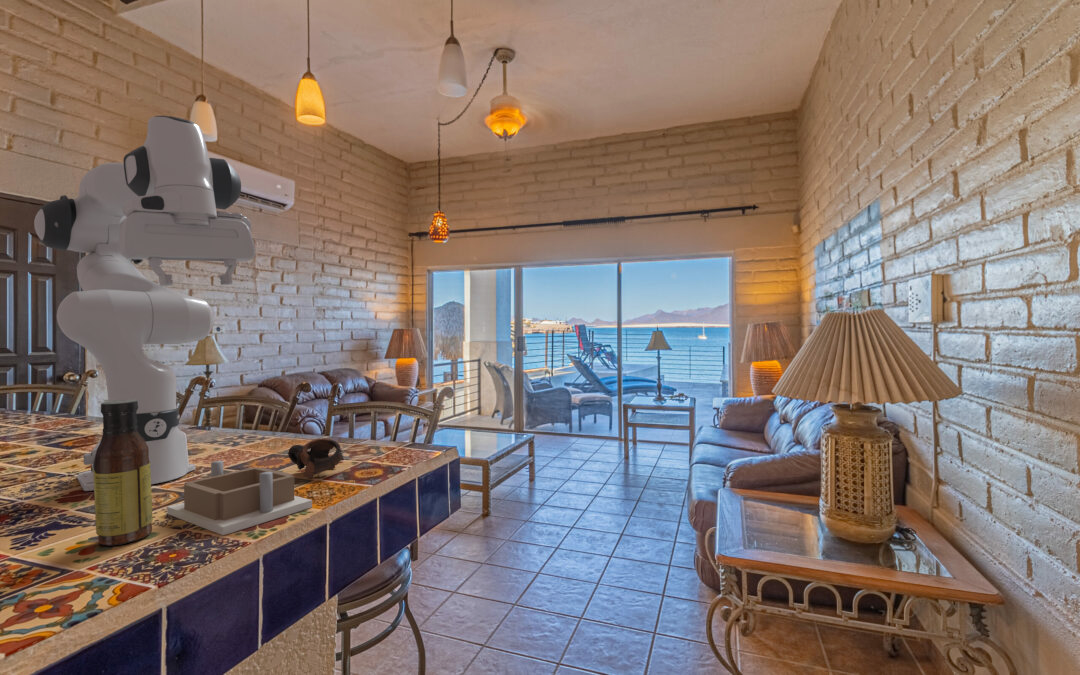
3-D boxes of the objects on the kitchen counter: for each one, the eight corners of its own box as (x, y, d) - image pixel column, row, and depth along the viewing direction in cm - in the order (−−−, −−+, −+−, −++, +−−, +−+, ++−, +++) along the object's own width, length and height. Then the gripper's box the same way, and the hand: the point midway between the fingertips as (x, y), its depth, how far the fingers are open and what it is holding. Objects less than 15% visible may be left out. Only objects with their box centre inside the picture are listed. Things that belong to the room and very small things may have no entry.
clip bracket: (167, 513, 81) (167, 470, 81) (254, 491, 93) (253, 453, 93) (223, 535, 72) (222, 485, 72) (312, 507, 83) (311, 464, 84)
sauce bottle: (134, 528, 75) (134, 397, 75) (163, 533, 73) (162, 398, 73) (82, 545, 69) (81, 402, 69) (111, 551, 66) (110, 404, 67)
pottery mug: (349, 468, 112) (351, 439, 108) (330, 498, 103) (331, 468, 100) (297, 455, 111) (297, 426, 108) (273, 484, 103) (273, 454, 99)
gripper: (242, 217, 99) (251, 286, 100) (110, 206, 83) (122, 288, 84) (255, 210, 95) (265, 281, 96) (120, 197, 79) (132, 283, 80)
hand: (197, 284), depth 90 cm, fingers open, 8 cm apart
